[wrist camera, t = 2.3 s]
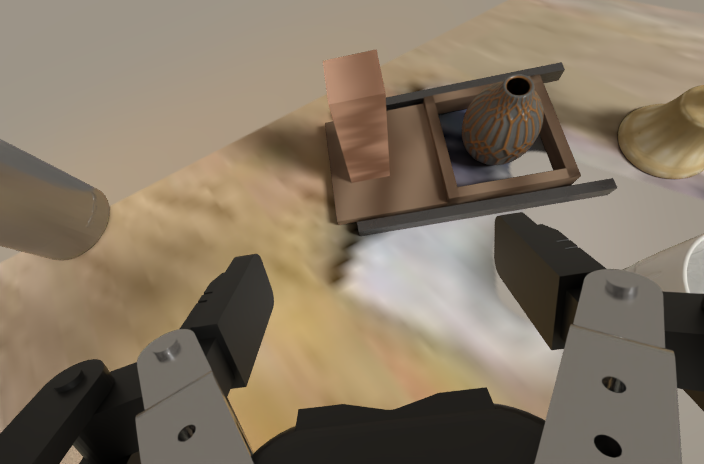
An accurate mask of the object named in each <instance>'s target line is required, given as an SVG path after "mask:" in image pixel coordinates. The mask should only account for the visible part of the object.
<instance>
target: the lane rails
mask: <svg viewBox="0 0 704 464" xmlns="http://www.w3.org/2000/svg"><path fill="white" fill-rule="evenodd" d="M564 70H565V69H564V67H563V64H562V62H561V63H556V64H551V65H546V66H541V67H536V68H531V69H526V70H521V71H516V72H511V73H506V74H501V75H496V76H491V77H486V78H481V79H476V80H471V81H466V82H461V83H456V84H452V85H447V86H442V87H437V88H432V89H427V90H422V91H417V92H412V93H407V94H402V95H397V96H392V97H387V98H386V111H388V110H393V109H398V108H403V107H408V106H413V105H418V104H423V99H424V97H427V96H432V95H437V94H442V93H447V92H452V91H457V90H462V89H467V88H472V87H477V86H482V85H487V84H492V83H497V82H501V81H504V80H505V79H506V78H507V77H509V76H511V75H514V74H522V75H525V76H532V75H537V74H540V76H541V79H542V81H543V83H547V82H552V81H557V80H559V78H560V77H561V75H562V73H563V72H564ZM616 188H617V186H616V184H615V182H614V180H613V178H612V179H606V180H600V181H594V182H589V183H583V184H577V185H571V186H565V187H559V188H553V189H547V190H542V191H536V192H530V193H524V194H518V195H512V196H506V197H501V198H495V199H489V200H483V201H477V202H471V203H465V204H460V205H454V206H448V207H442V208H436V209H430V210H425V211H419V212H413V213H407V214H401V215H395V216H389V217H384V218H378V219H372V220H366V221H360V222H357V225H358V231H359V234H360V236H364V235H370V234H376V233H382V232H388V231H394V230H400V229H406V228H412V227H418V226H424V225H430V224H436V223H442V222H448V221H454V220H460V219H466V218H472V217H478V216H484V215H490V214H496V213H502V212H508V211H514V210H520V209H526V208H531V207H538V206H544V205H550V204H556V203H562V202H568V201H574V200H580V199H586V198H592V197H597V196H604V195H608V194H609V193H611V192H612V191H614V190H615V189H616Z"/></svg>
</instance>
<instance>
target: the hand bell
mask: <svg viewBox="0 0 704 464" xmlns="http://www.w3.org/2000/svg"><path fill="white" fill-rule="evenodd" d="M618 142H619V146H620V148H621V150H622V152H623V154H624V155H625V157H626V158H627V159H628V160H629V161H630V162H631V163H632V164H633V165H635V166H636V167H637V168H639V169H640V170H642V171H644V172H646V173H648V174H650V175H653V176H656V177H661V178H666V179H682V178H688V177H692V176H694V175H696V174H699V173H700V172H702V171H703V170H704V85H701V86H697V87H694V88H691V89H689V90H688V91H686V92H685V93H683V94H682V95H680V96H679V97H677V98H676V99H674V100H672V101H671V102H669V103H667V104H655V105H649V106H645V107H642V108H639V109H637V110H635V111H633V112H631V113H630V114H629V115H627V116H626V117H625V118H624V120H623V121H622V123H621V125H620V127H619V130H618Z"/></svg>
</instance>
